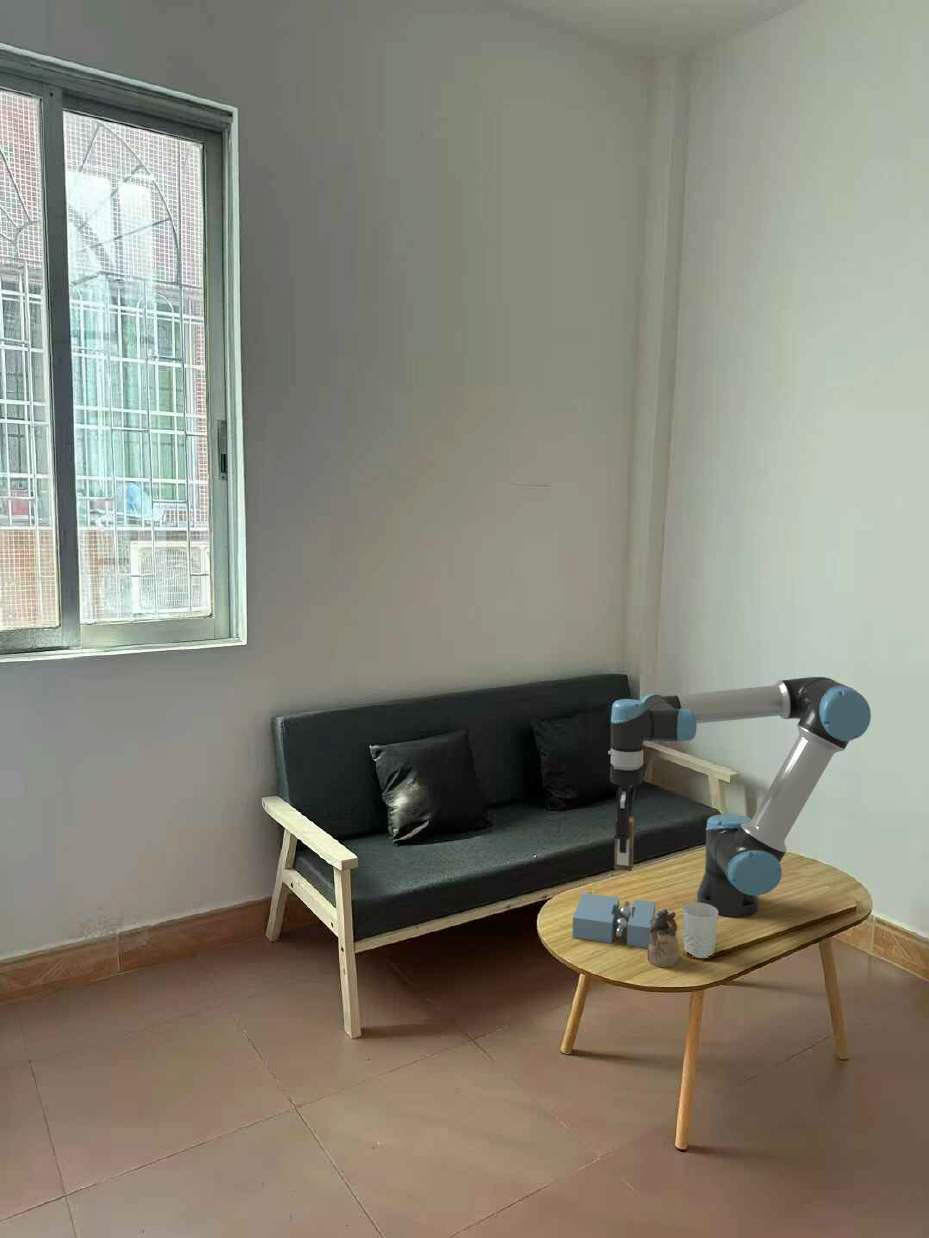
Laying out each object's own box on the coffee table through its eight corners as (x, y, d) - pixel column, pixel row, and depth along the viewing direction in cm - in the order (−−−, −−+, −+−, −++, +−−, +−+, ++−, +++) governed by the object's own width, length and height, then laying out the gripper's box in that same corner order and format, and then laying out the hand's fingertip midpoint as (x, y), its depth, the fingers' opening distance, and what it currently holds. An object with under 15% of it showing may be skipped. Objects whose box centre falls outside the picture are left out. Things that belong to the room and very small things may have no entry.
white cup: (690, 939, 210) (691, 899, 209) (722, 949, 205) (724, 908, 204) (675, 952, 204) (676, 911, 203) (707, 963, 199) (709, 921, 198)
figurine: (656, 948, 206) (658, 899, 204) (684, 958, 201) (686, 908, 200) (640, 960, 200) (642, 910, 199) (669, 971, 196) (670, 919, 194)
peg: (633, 864, 214) (634, 816, 212) (631, 871, 210) (632, 822, 208) (616, 862, 215) (617, 814, 213) (614, 869, 211) (615, 820, 210)
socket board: (654, 921, 219) (655, 901, 219) (649, 948, 206) (650, 927, 205) (582, 911, 224) (582, 892, 224) (572, 937, 211) (572, 917, 210)
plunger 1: (633, 910, 222) (633, 899, 221) (630, 922, 215) (630, 910, 215) (620, 908, 223) (621, 897, 222) (617, 920, 216) (617, 908, 216)
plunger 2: (628, 928, 212) (628, 916, 212) (625, 941, 206) (625, 928, 206) (615, 926, 213) (616, 914, 213) (612, 939, 207) (612, 927, 207)
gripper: (615, 754, 218) (613, 845, 221) (605, 774, 202) (603, 872, 205) (646, 756, 216) (643, 848, 219) (638, 777, 200) (636, 876, 203)
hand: (624, 860), depth 212 cm, fingers closed on peg, 4 cm apart
